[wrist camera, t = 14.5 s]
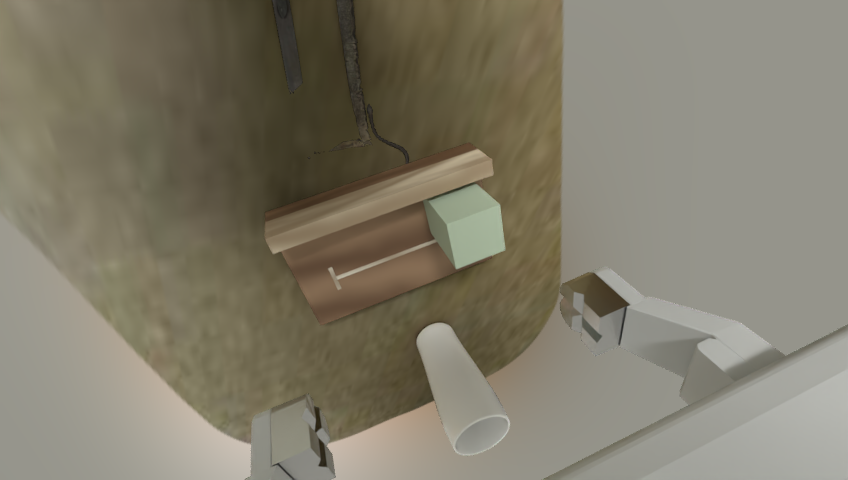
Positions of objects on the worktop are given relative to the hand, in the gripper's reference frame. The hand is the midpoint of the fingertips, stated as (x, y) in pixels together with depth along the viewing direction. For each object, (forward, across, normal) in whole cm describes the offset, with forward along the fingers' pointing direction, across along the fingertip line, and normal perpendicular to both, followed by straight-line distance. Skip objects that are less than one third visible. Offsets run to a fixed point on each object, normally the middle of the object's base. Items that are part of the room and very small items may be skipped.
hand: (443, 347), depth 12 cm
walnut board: (+27, -2, +15) cm, 31 cm away
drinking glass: (+27, -3, +33) cm, 42 cm away
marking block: (+25, -8, +12) cm, 29 cm away
